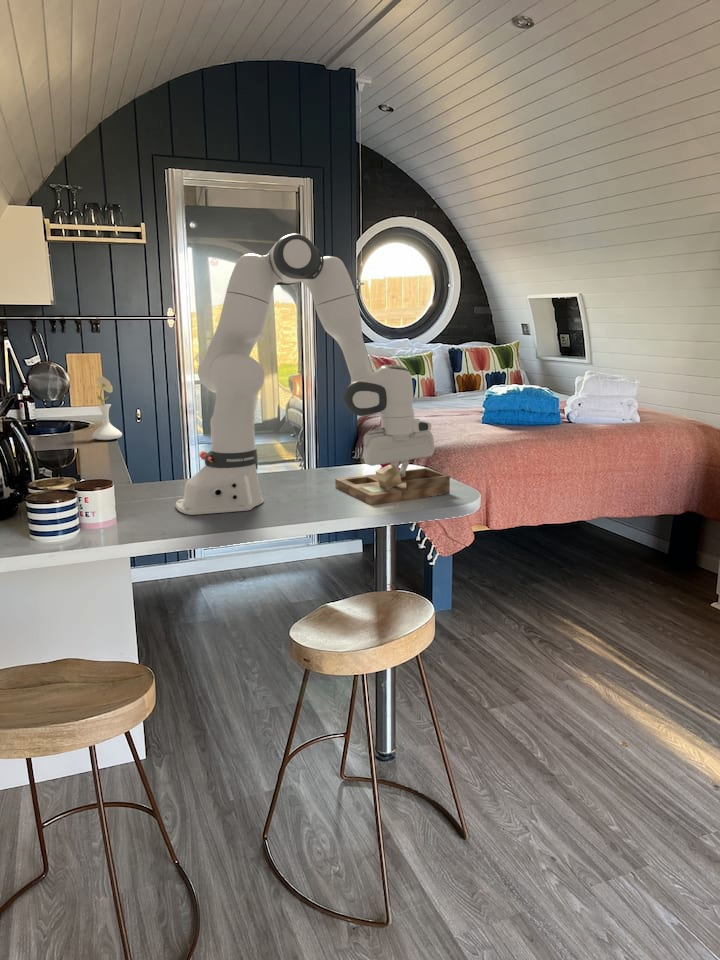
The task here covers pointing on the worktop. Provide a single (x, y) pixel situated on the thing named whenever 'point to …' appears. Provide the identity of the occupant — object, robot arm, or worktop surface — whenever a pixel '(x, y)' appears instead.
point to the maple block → (388, 477)
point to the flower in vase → (105, 415)
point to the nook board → (411, 487)
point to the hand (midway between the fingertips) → (400, 476)
